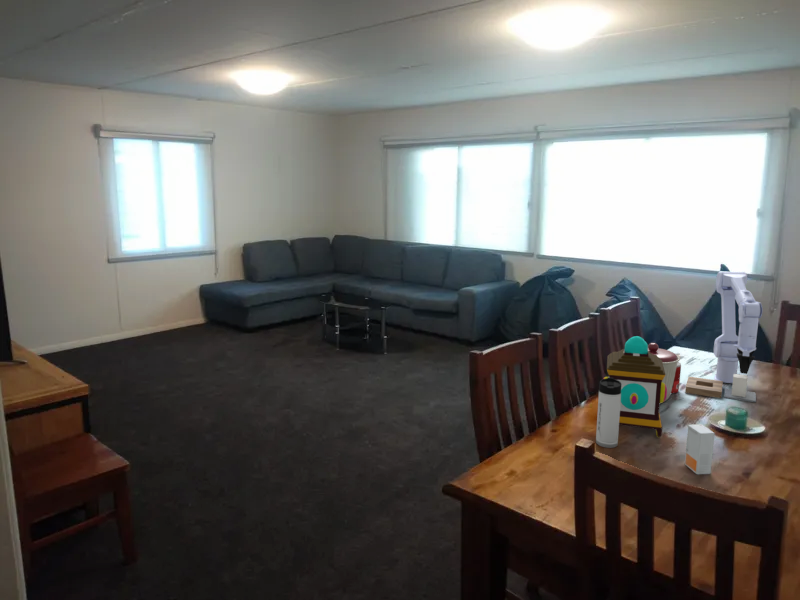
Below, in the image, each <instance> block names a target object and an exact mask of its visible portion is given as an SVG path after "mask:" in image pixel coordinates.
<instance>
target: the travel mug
mask: <svg viewBox="0 0 800 600" xmlns="http://www.w3.org/2000/svg"><path fill="white" fill-rule="evenodd" d="M598 387H599V389H598V397H597V398H598V401H597V402H598V403H597V416H596V417H597V418H596V419H597V420H596V431H595V432H596V433H595V443H596V444H597V445H598V446H599V447H602V448H605V449H606V448H607V449H613V448H616V447H617V446H619V445H618V444H619V443H618V442H619V433H620V431H619V429H620V425H619V417H620V402H621V382H620V381H618V380H615V379H613V378H608V379H603V378H602V379H601V380H599V385H598Z"/></svg>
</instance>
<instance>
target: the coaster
mask: <svg viewBox="0 0 800 600" xmlns="http://www.w3.org/2000/svg"><path fill="white" fill-rule="evenodd" d="M724 399H731V400H737V401H744V402H749V403H750V402H752V403H756V402H757V394H756V392H754V391H749V390H748V391H747V390H746V397H742V396H735V395H732V388H724Z"/></svg>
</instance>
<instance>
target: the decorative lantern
mask: <svg viewBox="0 0 800 600" xmlns="http://www.w3.org/2000/svg"><path fill="white" fill-rule="evenodd" d="M648 345H649V344H648V343H647V341H645V339H644V338H643V337H641V336H640V335H639V336H638V335H636V336H632V337H630V338H628V340H627V341H625V344H624V348H622V349H621V350H618V351H612V352H610V353H609V354H608V355H607V361H606V371H607V374H608V376H605V377H603V378H602V379H608V378H613V379H615V380H618V381H620V382H621V402H620V417H619V426H626V427H635V428H643V429H649V430H650V429H651V430H655V433H656V434H655V435H656V437H657V438H661V437H662V434H663V424H662V420H661V415H660V414H661V413H660V405H661V404H663V403H664V401H665V399H666V396H667V388H666V385H665V384H664V383H663V382H662V380H663V379H664V377H665V375H666V373H665V370H664V366H663V362H662V360H661V359H660V358H659V357H658V356H657V355H652V354H651V353H650V352H649V351H648ZM665 402H666V401H665Z"/></svg>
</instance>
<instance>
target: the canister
mask: <svg viewBox="0 0 800 600" xmlns="http://www.w3.org/2000/svg"><path fill="white" fill-rule="evenodd" d="M647 345H648V351H649V352H650V353H651V354H652V355H657V356H658V357H659V358H660V359H661V360H662V362H663V366H664V370H665V373H666V375H665V377H664V379H663V380H662V382H663V383H664V384H665V385H666V388H667V396H666V399H665V401H664V402H666V401H667V400H669V398H670V396H671V394H672V393H671V390H672V386H673V382H674V377H675V372H676V368H677V362H680V360H681V357H680V356H679V355H677V354H676V353H674V351H670V350H668V349H664V348H659V345H658V344H657V343H656V342H650V343H649V344H647ZM664 402H663V403H664Z"/></svg>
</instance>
